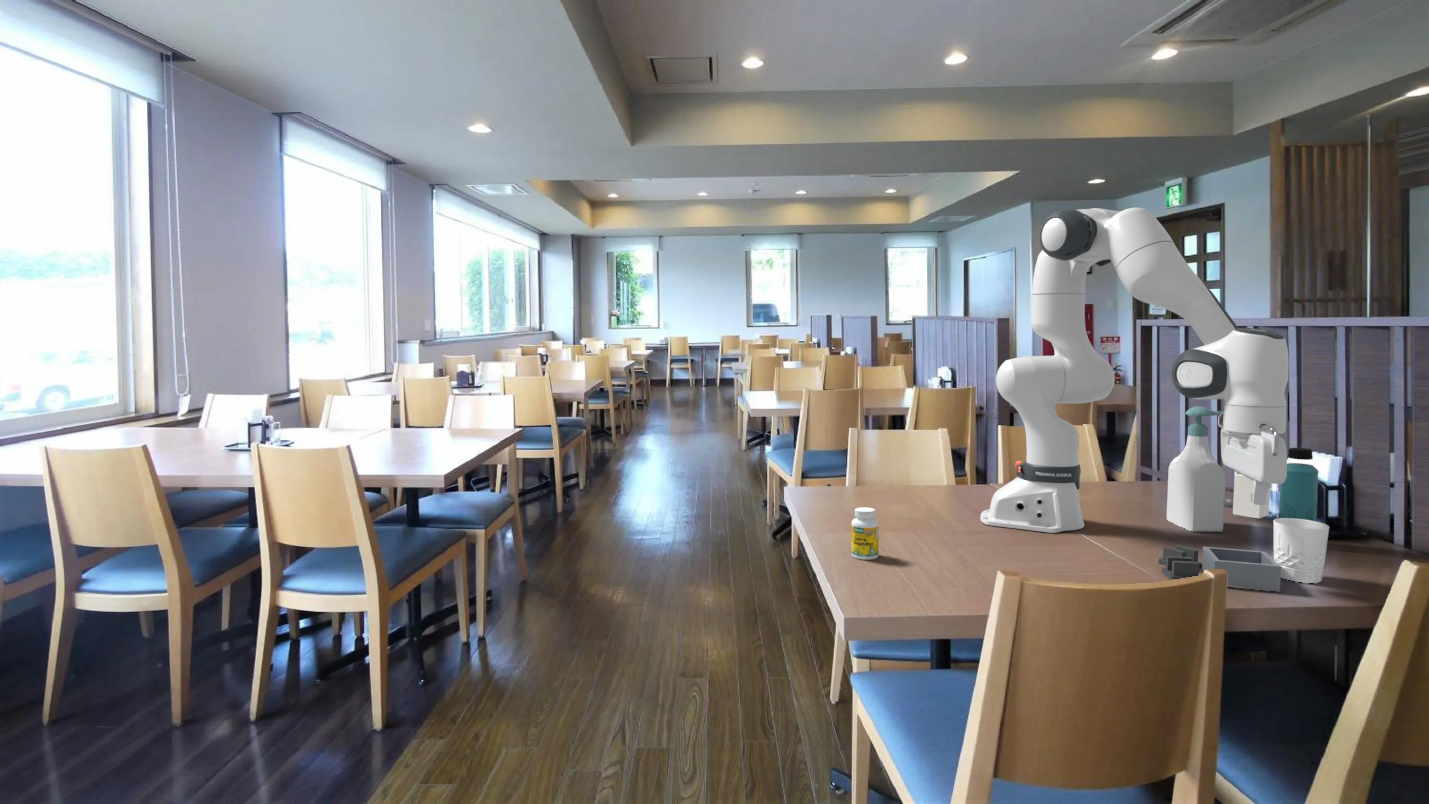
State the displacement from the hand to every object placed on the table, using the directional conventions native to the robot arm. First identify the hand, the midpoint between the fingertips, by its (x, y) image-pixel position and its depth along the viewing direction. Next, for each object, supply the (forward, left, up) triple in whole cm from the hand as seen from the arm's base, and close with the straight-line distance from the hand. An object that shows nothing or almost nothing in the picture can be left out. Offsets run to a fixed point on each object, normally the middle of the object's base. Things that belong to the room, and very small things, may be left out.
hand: (1250, 500), depth 134 cm
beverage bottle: (+16, +33, -15) cm, 40 cm away
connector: (0, 0, -3) cm, 3 cm away
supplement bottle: (-66, -8, -15) cm, 68 cm away
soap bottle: (0, +42, -15) cm, 45 cm away
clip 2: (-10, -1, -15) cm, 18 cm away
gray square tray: (-1, 0, -15) cm, 15 cm away
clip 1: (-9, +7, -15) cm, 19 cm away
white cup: (+9, +6, -15) cm, 18 cm away
